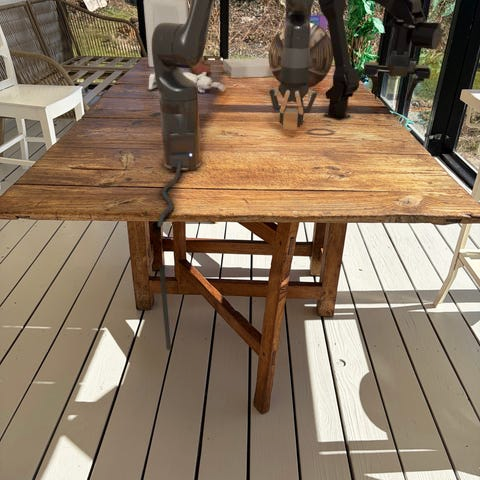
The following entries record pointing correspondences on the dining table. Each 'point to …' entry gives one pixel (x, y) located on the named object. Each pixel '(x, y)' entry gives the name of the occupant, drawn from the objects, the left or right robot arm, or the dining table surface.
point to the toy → (200, 80)
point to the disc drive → (247, 67)
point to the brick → (290, 119)
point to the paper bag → (162, 17)
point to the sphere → (318, 54)
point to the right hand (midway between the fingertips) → (391, 99)
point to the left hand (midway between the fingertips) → (291, 125)
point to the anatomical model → (202, 67)
